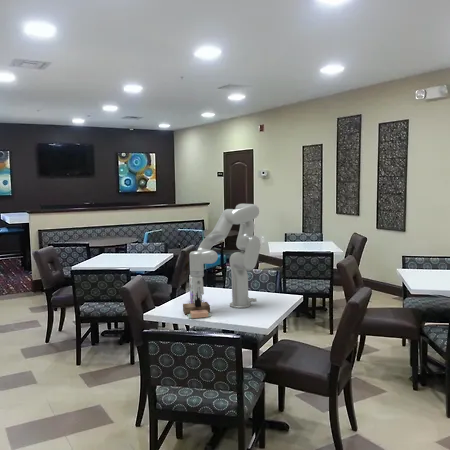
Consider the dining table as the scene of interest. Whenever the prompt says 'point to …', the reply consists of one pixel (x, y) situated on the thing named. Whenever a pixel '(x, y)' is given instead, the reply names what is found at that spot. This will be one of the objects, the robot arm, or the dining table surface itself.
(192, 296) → the candy box
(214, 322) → the dining table surface
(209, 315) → the mat
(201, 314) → the tile
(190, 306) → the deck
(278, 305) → the dining table surface
